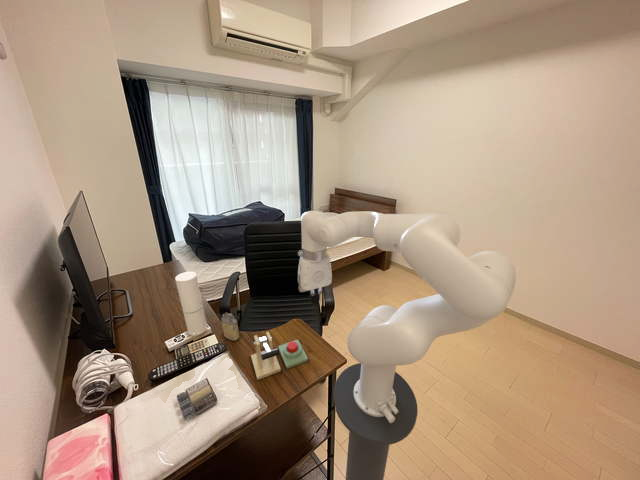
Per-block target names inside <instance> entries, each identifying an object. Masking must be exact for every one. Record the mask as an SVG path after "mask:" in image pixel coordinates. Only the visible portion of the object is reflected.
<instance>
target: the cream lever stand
mask: <svg viewBox="0 0 640 480" xmlns="http://www.w3.org/2000/svg"><path fill="white" fill-rule="evenodd" d="M265 337H266V338H267V342H268V347H269V349H270V350H274V346H273V337H272V336H271V333H270V331H266V332H265ZM253 340H254V342H253V346H254V348H255V353H254V354H250V359H251V362H252V365H253V366H252V367H253V369H254V374H255V376H256V380H257V381H258V380H259V381H260V380H262V379H264V378H267V377H269V376H272V375H275V374H277V373H279V372H281V371H282V368H281V365H280V363H279V360H278V358H277V356H274V357H271V358H268V359H265V360H262V358H261V354H263V353H266V351H265V350H263V351H261V349H262V348H261V346H260V342H259V337H258V335H257V334H255V335H253Z"/></svg>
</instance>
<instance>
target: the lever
mask: <svg viewBox="0 0 640 480" xmlns="http://www.w3.org/2000/svg"><path fill="white" fill-rule="evenodd" d="M258 340H259V343H260V349H264V351H266V353H263V354H261V358H262V360H265V359H268V358H271V357H274V356H276V357H277V356H280V352H279V349H278V348H275V349H274V348H273V350H270V349H269V347H268V342H267V338H266V335H264V336H262V337H258Z"/></svg>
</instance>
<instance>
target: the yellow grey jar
mask: <svg viewBox="0 0 640 480" xmlns="http://www.w3.org/2000/svg"><path fill="white" fill-rule="evenodd" d="M221 316H222V317H221V327H222V332H223V337H225V338H226V340H231V341H232V342H233V341H234V342H235V341H237V340H239V339H240V331H239V326H238V321H237V319H236V318H235V316H234V315H233V314H232V313H231V312H230V313H228V312H225V313H223V314H222V315H221Z"/></svg>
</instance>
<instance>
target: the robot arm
mask: <svg viewBox="0 0 640 480" xmlns="http://www.w3.org/2000/svg"><path fill="white" fill-rule="evenodd" d="M300 220H301V221H300V222H301V223H300V224H301V227H300V228H301V248H300V250H299V251H297V256H298V257H299V260H298V262H299V263H298V267H297V283H298V287H297V288H298V289H297V290H298V291H299V293H305V292H306V293H308V294H309V303H311V304H312V305H313V306H314V307H316V306H319V304H320V300H321V294H322V291H323V290H324V288H326V287H328V286H330V285H331V284H332V281H333V272H332V263H331V262H332V261H331V256H330V254H328V248H334V247H337V246H339V245H340V244H343V243H345V242H346V241H348V240H350V239H353V238H368V239H369V238H370V239H373V241H374V244H375V247H376V248H377V249H378V250H381V251H384V252H394V253H401V256H402V257H403V259H404V261H405V262H406V263H407V264H408V266H409V267H410V268H411V269H412V270H413V271H414V272H415V273H416V274H417V275H418V276H419V277H420V278H421V279H422V280H423V281H424V282H426V283H427V285H429V286H430V287H431V288H432V289H433V290H434V291H435V292H436V294H433V295H429V296H425V297H420V298H417V299H413V300H409V301H407V302H404V303H403V304H402V305H401V306H400V307H399V308H398V309H397V308H396V307H394V306H391V305H389V304H383V305H379V306H377V307H375V308H373V309H371V310H370V312H369V313H367V315H365V316H364V317H363V318H362V320H361V321H360V322H358V323H357V325H356V326H354V328H352V329H351V331H350V333H349V334H348V337H347V349H348V351H349V354H350V355H351V357H352V358H353V359H354V360H355V361H356V362H358V363H361V373H360V379H359V380H358V381H357V383H356V384H355V386H354V399H355V402H356V404H357V405H358V407H359V408H360V409H361V410H362V411H363V412H365V413H366V414H368V415H371V416H374V417H384V416H385V417H386V418H387V420H388V421H389V422H390V423H393V422H394V421H395V417H394V416H393V414H392V413H391V412H392V411H393V412H394V414H397V413H398V412H399V411H398V409H397V408H396V407H395V404H396V395H395V392H394V390H393V382H394V375H395V372H396V369H397V366H407V365H411V364H414V363H417V362H418V361H420V360H421V359H423V357H425V355H426V354H427V353H428V351H429V349H430V348H431V345H432V344H433V342H434V341H435V340H436V339H438V338H440V337H442V336H447V335H453V334H457V333H463V332H467V331H470V330H474V329H477V328H479V327H481V326H483V325H486V324H487V323H488V322H490V321H491V320H493V319H495V318H497V317H498V316H500V315H501V314H502V313H503V312H504V311H505V310H506V308H507V307H508V304H509V302H510V299H511V297H512V295H513V293H514V289H515V285H516V280H517V273H516V267H515V265H514V263H513V261H512V260H511V259H510V258H509V257H508V256H507V255H506V254H504V253H502V252H500V251H495V250H485V251H480V252H476V253H475V254H473V255H471V256H469V257H468V256H467V255H466V254H465V253H463V252H462V251H461V250H460V249H459V248H458V247H457V246H458V245H459V242H460V240H461V227H460V225H459V223H458V222H457V220H456V219H454V218H453V217H452V216H450V215H448V214H443V213H383V212H377V211H370V210H368V211H367V210H364V211H360V210H359V211H347V212H346V211H345V212H342V213H339V214H336V215H333V216H330V217H328V215H327V214H326V213H325V212H324V211H321V210H308V211H305V212H304V213H302V214H301V219H300Z"/></svg>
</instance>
